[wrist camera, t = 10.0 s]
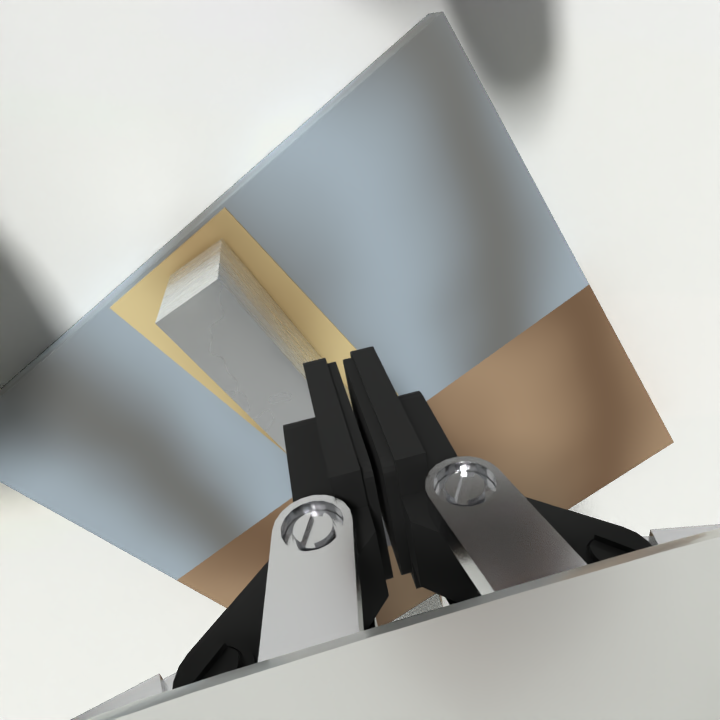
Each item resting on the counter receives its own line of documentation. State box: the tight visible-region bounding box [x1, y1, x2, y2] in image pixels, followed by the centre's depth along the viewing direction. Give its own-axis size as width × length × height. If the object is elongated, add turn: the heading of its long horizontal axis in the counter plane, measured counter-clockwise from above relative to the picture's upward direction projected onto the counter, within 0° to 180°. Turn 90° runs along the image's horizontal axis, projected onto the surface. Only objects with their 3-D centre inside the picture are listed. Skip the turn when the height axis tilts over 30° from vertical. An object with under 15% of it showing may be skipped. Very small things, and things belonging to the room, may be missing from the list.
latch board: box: [0, 12, 673, 626], centre depth 20 cm, size 19×19×1 cm
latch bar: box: [155, 238, 391, 546], centre depth 16 cm, size 11×3×3 cm, turn 32°
